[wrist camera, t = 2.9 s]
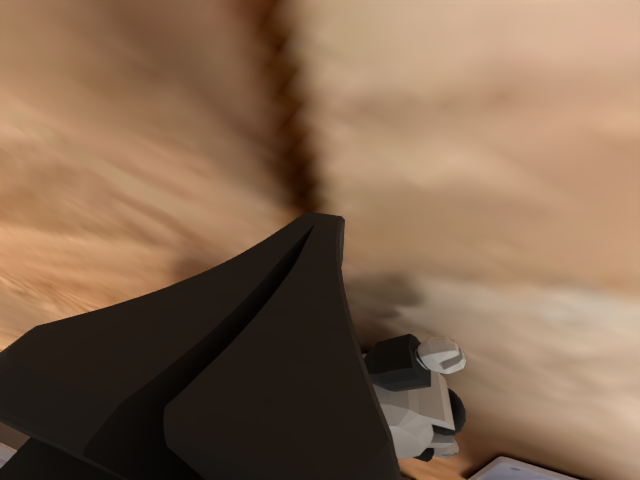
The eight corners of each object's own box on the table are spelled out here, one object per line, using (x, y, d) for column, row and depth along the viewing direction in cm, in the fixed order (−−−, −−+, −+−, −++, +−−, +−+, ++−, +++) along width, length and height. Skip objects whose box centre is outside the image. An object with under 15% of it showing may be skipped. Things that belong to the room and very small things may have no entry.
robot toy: (457, 281, 12) (193, 290, 16) (487, 382, 8) (139, 357, 13) (452, 408, 18) (264, 389, 23) (467, 496, 15) (241, 452, 19)
